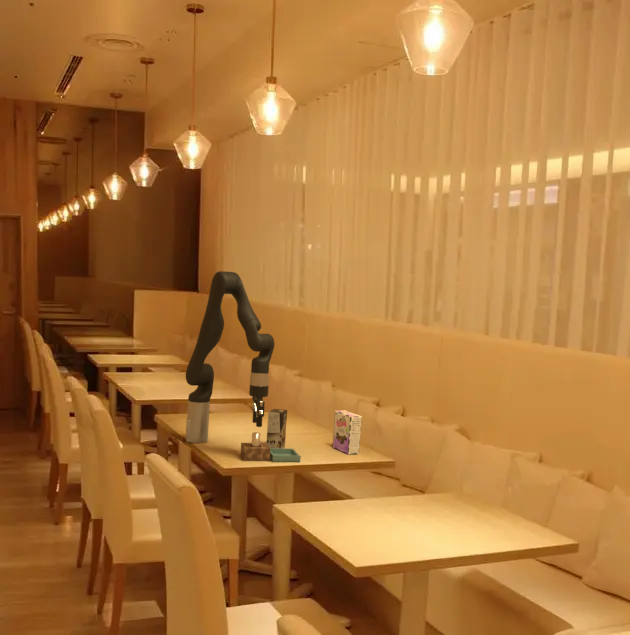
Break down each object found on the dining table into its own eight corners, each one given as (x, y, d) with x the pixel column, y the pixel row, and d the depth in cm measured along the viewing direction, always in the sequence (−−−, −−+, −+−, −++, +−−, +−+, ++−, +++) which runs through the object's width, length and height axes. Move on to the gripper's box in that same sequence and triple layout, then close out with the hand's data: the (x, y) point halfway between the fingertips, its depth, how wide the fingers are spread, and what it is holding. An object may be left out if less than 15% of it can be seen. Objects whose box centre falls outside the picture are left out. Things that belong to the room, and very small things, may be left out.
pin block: (244, 461, 305) (245, 448, 305) (240, 455, 315) (241, 442, 315) (269, 461, 308) (270, 448, 308) (264, 455, 318) (265, 443, 317)
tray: (272, 462, 307) (273, 455, 306) (266, 454, 319) (267, 448, 319) (300, 462, 309) (300, 456, 309) (292, 454, 322) (293, 448, 322)
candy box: (331, 447, 340) (334, 410, 339) (343, 447, 343) (346, 409, 342) (347, 455, 328) (350, 416, 327) (359, 454, 331) (362, 415, 330)
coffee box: (280, 451, 327) (282, 412, 326) (265, 449, 328) (267, 411, 327) (285, 446, 336) (287, 409, 335) (270, 445, 337) (273, 408, 336)
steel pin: (251, 459, 310) (253, 433, 309) (250, 457, 313) (251, 432, 312) (259, 459, 310) (261, 434, 310) (258, 457, 313) (259, 432, 313)
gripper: (247, 381, 316) (244, 421, 317) (252, 386, 302) (250, 428, 303) (265, 381, 318) (263, 421, 318) (272, 386, 304) (269, 428, 305)
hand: (257, 424), depth 311 cm, fingers open, 8 cm apart
